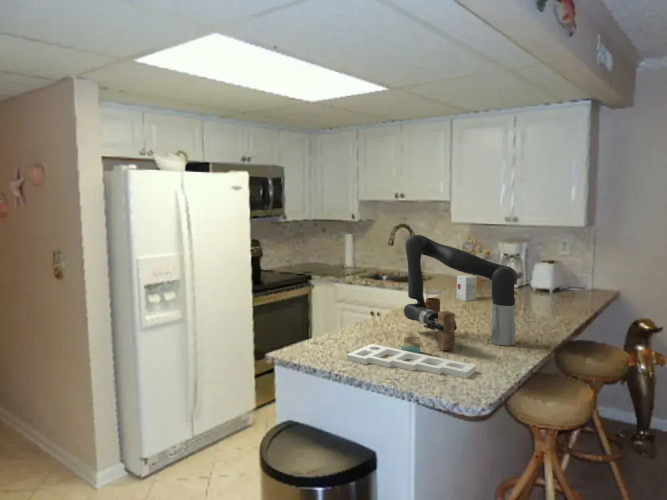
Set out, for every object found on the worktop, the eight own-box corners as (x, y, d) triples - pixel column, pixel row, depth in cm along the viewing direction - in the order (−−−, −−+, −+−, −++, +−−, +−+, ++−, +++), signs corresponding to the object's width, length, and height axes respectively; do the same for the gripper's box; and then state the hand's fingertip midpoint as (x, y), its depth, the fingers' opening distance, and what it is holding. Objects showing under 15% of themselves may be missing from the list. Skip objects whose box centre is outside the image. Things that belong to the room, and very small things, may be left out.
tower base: (419, 351, 201) (420, 342, 201) (418, 357, 194) (418, 347, 194) (402, 350, 203) (403, 341, 202) (401, 355, 196) (401, 345, 196)
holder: (476, 372, 177) (476, 365, 177) (455, 387, 163) (455, 379, 163) (371, 350, 205) (371, 343, 204) (346, 361, 190) (346, 354, 190)
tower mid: (417, 342, 201) (418, 332, 201) (420, 346, 195) (420, 336, 194) (402, 341, 202) (402, 332, 201) (403, 346, 195) (403, 336, 195)
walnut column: (448, 346, 206) (448, 310, 204) (454, 349, 201) (454, 313, 200) (437, 346, 205) (438, 311, 203) (443, 350, 200) (443, 314, 198)
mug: (431, 319, 256) (431, 302, 255) (418, 317, 261) (418, 300, 260) (442, 316, 265) (442, 298, 264) (430, 314, 270) (430, 297, 269)
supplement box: (455, 298, 313) (456, 275, 311) (467, 297, 316) (467, 274, 315) (465, 301, 305) (465, 277, 303) (476, 300, 308) (477, 276, 307)
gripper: (415, 311, 214) (433, 320, 197) (445, 309, 217) (465, 318, 201) (415, 328, 214) (433, 338, 198) (445, 326, 218) (464, 336, 202)
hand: (449, 328), depth 200 cm, fingers closed on walnut column, 5 cm apart
